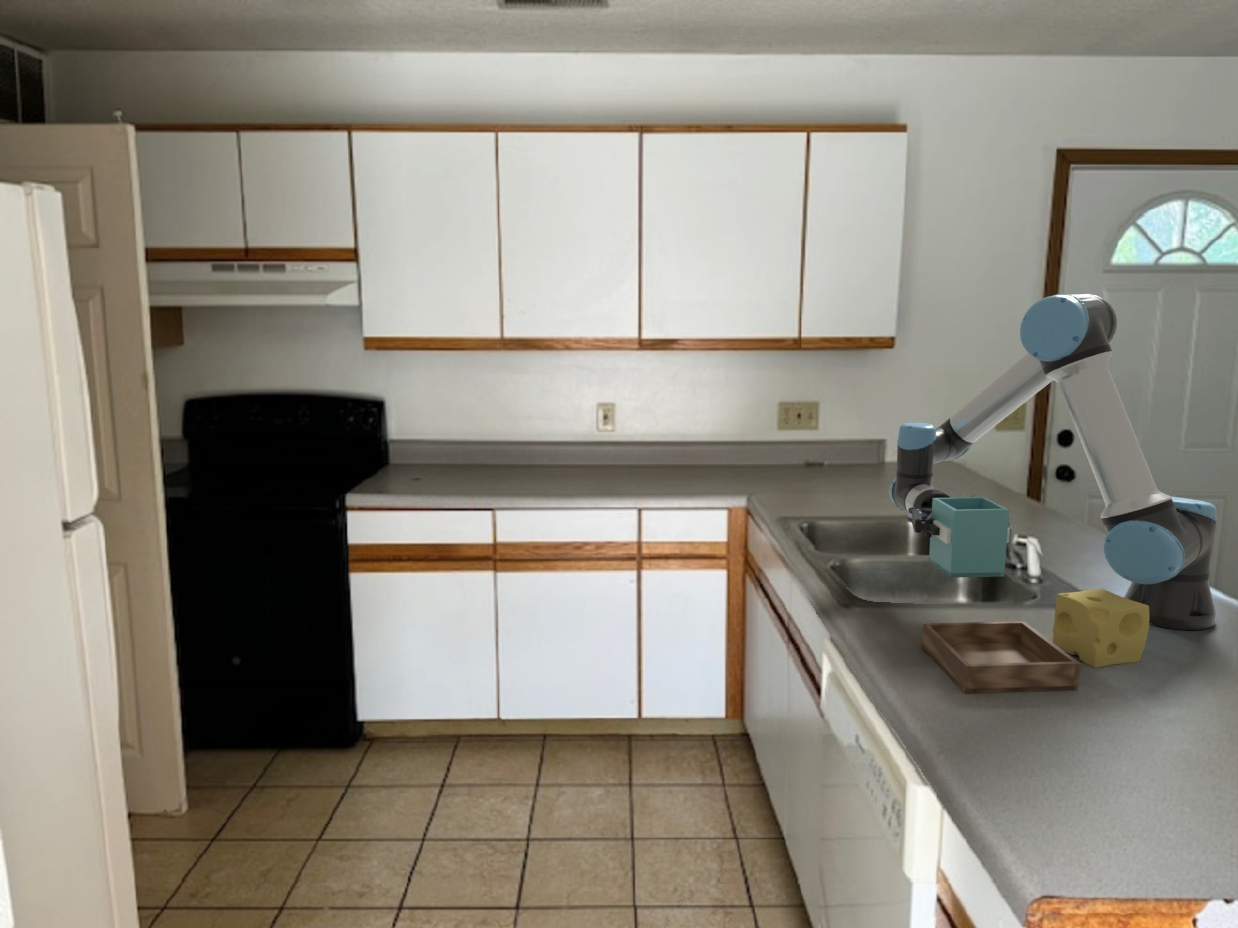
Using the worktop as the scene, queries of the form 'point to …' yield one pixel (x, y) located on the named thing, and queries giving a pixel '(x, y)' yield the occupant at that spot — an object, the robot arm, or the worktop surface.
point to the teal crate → (970, 537)
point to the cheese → (1100, 627)
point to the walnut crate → (999, 657)
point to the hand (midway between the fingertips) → (978, 536)
